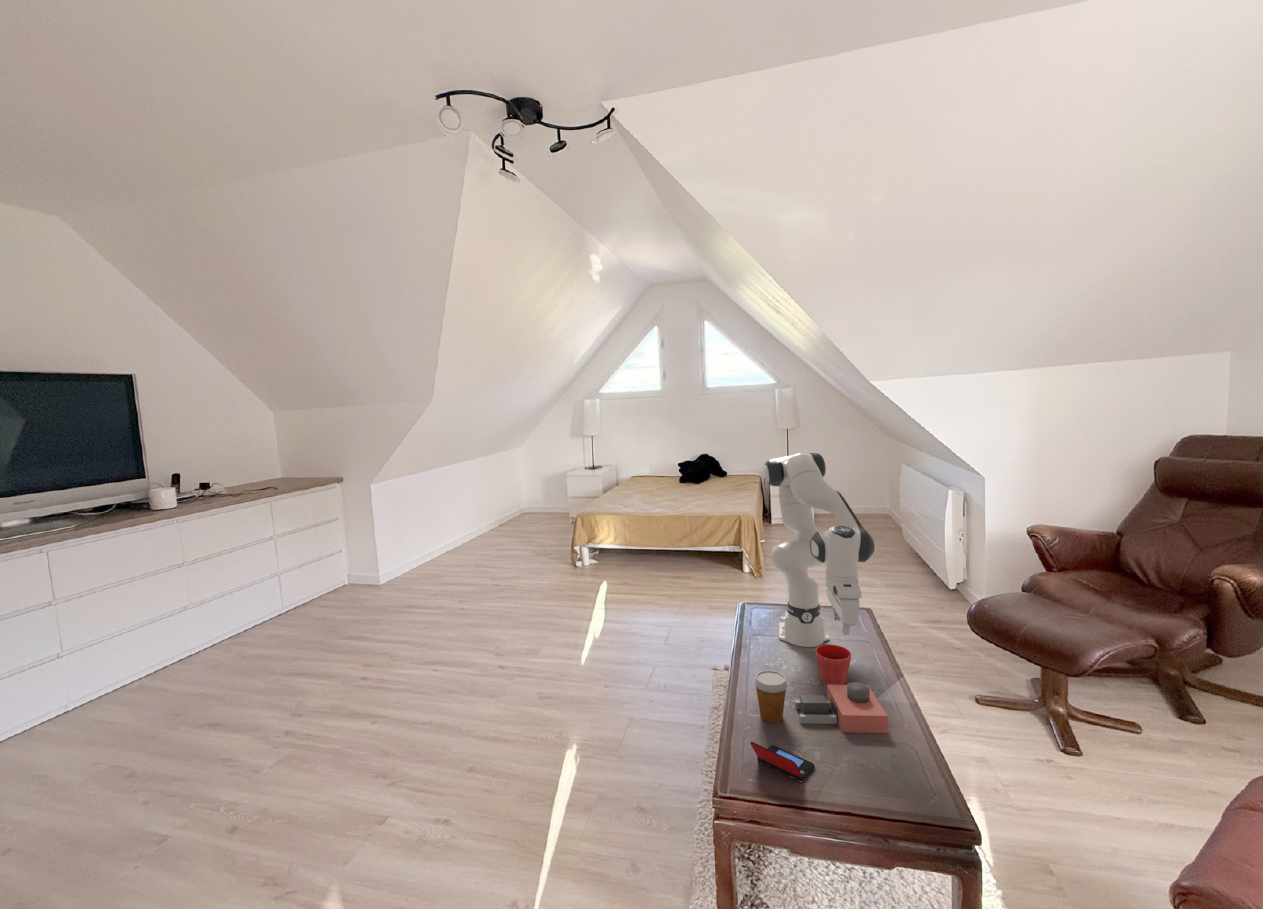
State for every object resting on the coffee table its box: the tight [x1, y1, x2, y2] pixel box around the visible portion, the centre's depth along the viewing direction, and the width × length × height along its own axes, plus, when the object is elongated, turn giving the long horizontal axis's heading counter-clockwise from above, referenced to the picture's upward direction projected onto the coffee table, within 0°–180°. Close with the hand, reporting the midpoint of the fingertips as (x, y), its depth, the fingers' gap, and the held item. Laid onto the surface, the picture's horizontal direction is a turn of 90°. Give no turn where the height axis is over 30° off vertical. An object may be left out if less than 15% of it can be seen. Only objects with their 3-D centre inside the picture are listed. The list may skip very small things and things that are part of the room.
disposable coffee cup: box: [753, 669, 789, 724], centre depth 156 cm, size 10×10×12 cm
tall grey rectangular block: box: [799, 694, 829, 715], centre depth 156 cm, size 4×7×5 cm, turn 84°
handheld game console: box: [750, 741, 815, 782], centre depth 135 cm, size 12×11×7 cm
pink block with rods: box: [794, 681, 889, 734], centre depth 155 cm, size 16×22×8 cm
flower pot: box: [815, 644, 852, 685], centre depth 174 cm, size 11×11×10 cm
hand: (840, 626), depth 159 cm, fingers open, 8 cm apart
